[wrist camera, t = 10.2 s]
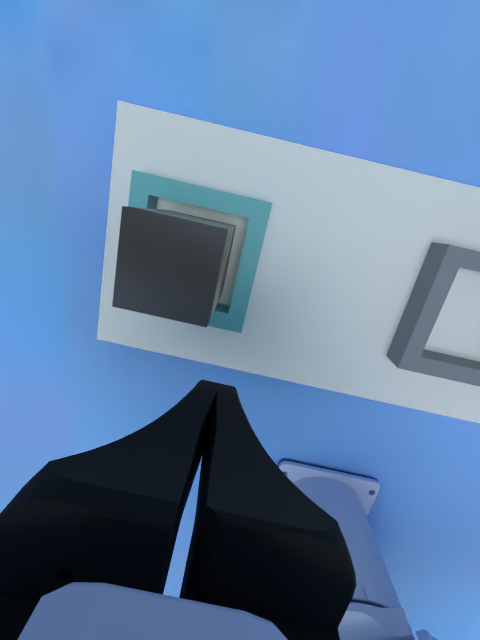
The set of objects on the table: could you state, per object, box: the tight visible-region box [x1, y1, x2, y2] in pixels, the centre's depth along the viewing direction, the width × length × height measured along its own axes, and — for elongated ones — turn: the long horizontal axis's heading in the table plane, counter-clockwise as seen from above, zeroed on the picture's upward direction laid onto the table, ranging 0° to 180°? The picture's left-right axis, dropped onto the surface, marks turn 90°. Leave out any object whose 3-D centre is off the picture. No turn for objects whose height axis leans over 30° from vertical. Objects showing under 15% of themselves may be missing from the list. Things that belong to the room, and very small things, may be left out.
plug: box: [112, 206, 236, 327], centre depth 16 cm, size 4×4×7 cm
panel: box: [97, 101, 480, 423], centre depth 19 cm, size 14×29×3 cm, turn 78°
